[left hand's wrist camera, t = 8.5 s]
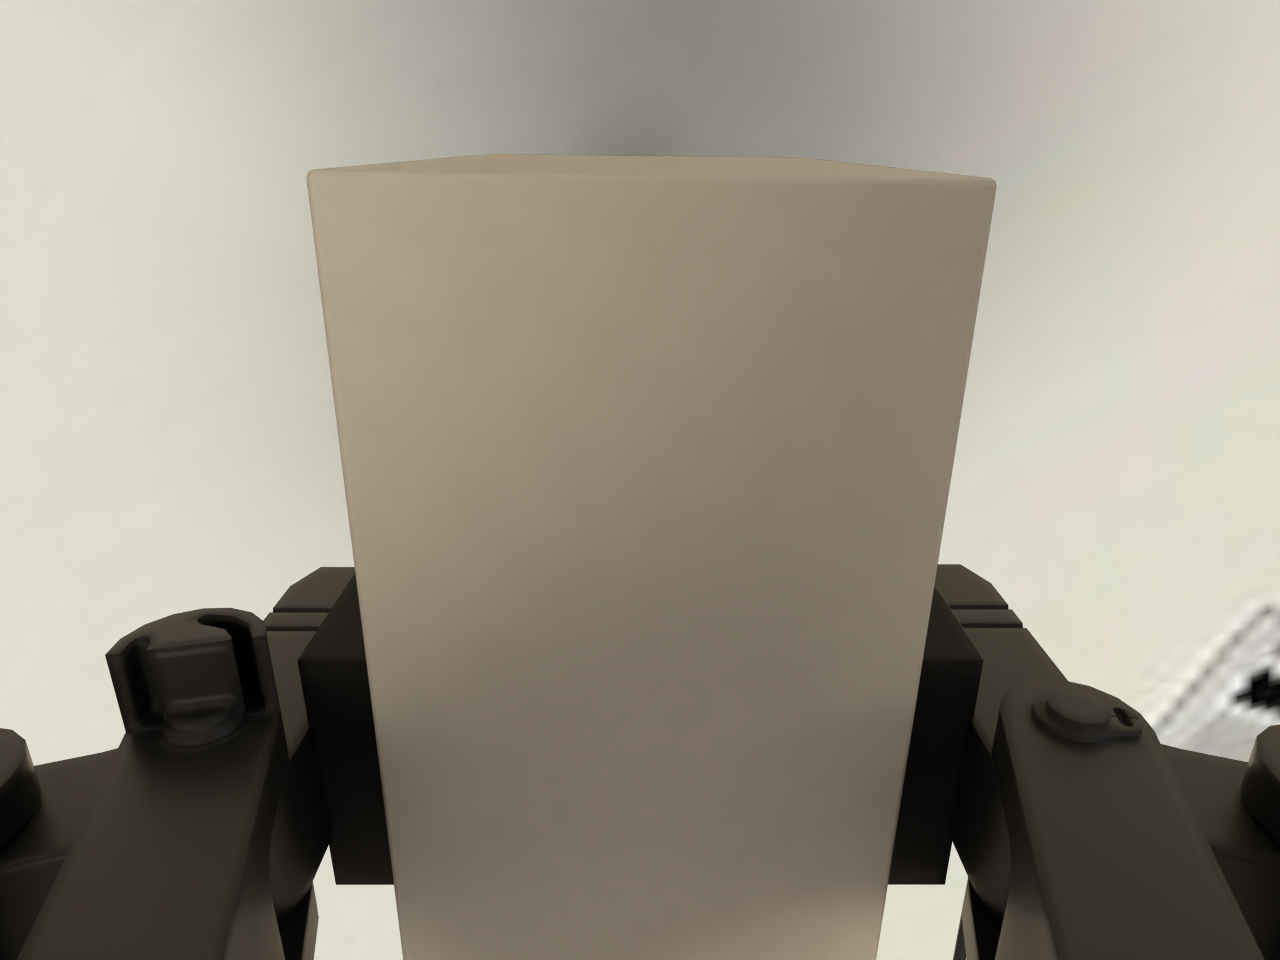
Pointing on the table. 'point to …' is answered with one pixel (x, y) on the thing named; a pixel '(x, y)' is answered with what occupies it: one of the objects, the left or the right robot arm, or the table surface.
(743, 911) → the beam
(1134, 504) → the table surface
